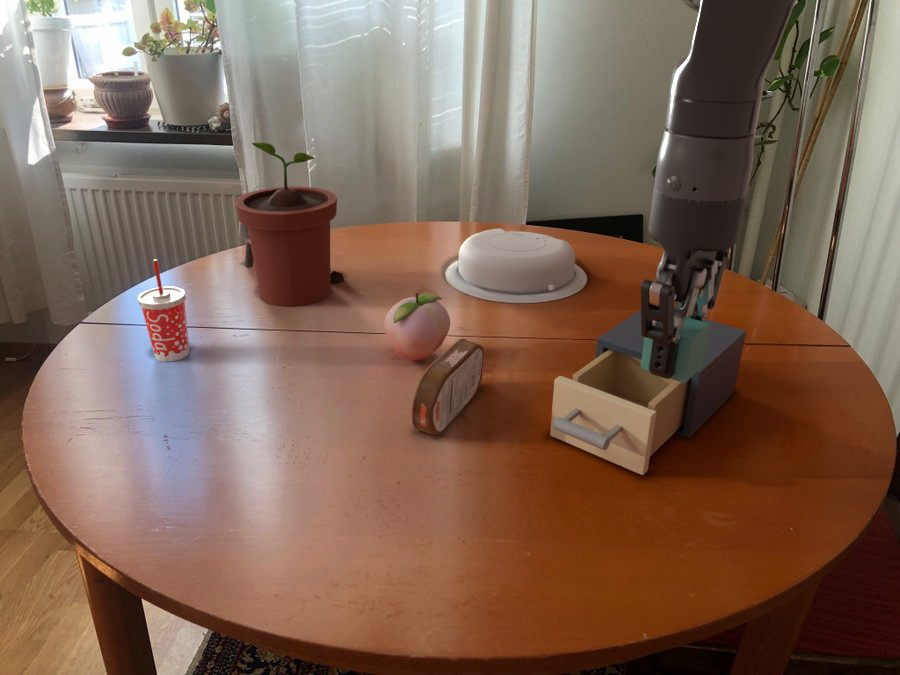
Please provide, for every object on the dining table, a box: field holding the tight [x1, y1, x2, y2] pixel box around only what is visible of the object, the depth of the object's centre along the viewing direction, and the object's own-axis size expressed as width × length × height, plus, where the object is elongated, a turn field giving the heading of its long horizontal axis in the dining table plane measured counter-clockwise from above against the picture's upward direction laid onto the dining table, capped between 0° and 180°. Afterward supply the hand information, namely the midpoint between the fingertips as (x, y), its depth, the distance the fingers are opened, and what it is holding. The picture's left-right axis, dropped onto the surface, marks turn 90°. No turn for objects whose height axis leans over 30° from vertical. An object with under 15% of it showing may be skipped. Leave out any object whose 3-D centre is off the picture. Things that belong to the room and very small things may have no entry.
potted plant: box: [234, 142, 345, 307], centre depth 121 cm, size 18×22×25 cm
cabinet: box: [595, 309, 747, 439], centre depth 91 cm, size 14×13×9 cm
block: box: [641, 317, 711, 383], centre depth 69 cm, size 4×4×4 cm
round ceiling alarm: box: [444, 228, 588, 304], centre depth 130 cm, size 25×25×6 cm
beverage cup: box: [136, 258, 190, 363], centre depth 101 cm, size 6×6×14 cm
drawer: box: [549, 349, 692, 476], centre depth 82 cm, size 17×12×7 cm
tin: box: [411, 338, 485, 436], centre depth 88 cm, size 15×3×8 cm, turn 154°
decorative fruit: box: [383, 292, 451, 361], centre depth 100 cm, size 9×8×10 cm
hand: (672, 364), depth 70 cm, fingers closed on block, 4 cm apart
